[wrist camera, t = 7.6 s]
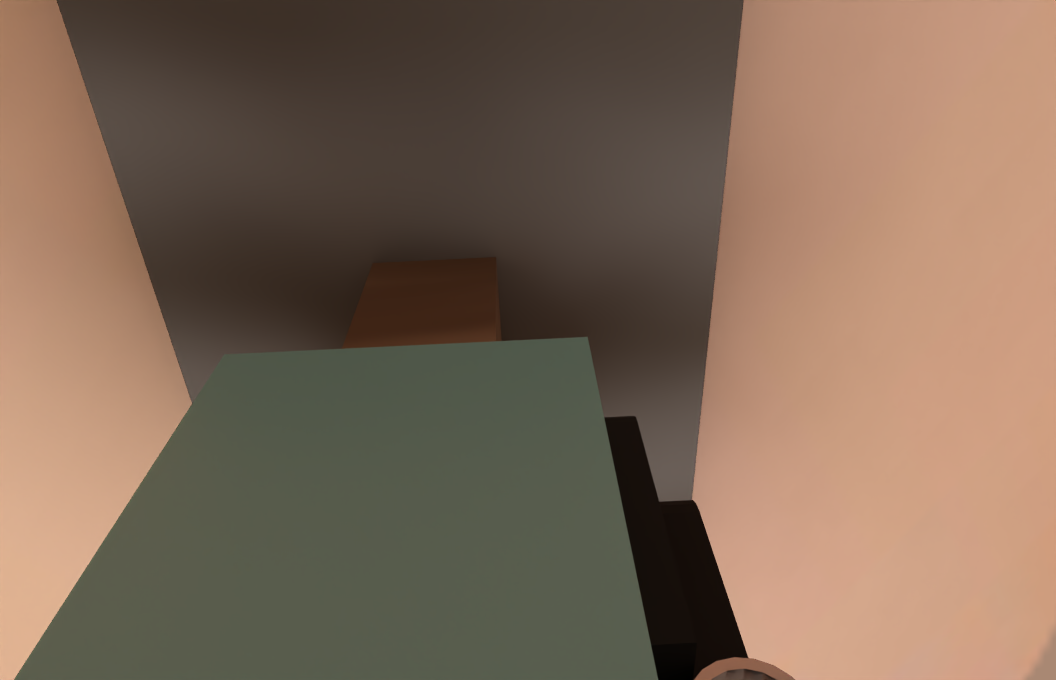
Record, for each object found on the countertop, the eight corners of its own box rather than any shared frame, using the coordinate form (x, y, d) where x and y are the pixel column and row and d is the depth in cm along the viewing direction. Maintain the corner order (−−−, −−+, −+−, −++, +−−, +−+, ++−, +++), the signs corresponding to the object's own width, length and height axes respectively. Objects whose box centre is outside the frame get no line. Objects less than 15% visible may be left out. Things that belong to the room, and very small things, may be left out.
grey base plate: (43, -99, 12) (-396, -111, 6) (746, -130, 12) (979, -170, 6) (258, 563, 20) (157, 834, 14) (681, 540, 21) (756, 800, 15)
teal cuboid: (224, 354, 10) (-123, 889, 5) (587, 336, 10) (693, 846, 5) (296, 602, 13) (133, 1141, 7) (586, 588, 13) (652, 1113, 7)
